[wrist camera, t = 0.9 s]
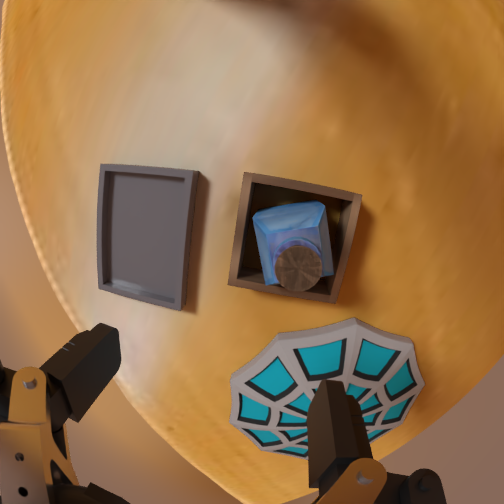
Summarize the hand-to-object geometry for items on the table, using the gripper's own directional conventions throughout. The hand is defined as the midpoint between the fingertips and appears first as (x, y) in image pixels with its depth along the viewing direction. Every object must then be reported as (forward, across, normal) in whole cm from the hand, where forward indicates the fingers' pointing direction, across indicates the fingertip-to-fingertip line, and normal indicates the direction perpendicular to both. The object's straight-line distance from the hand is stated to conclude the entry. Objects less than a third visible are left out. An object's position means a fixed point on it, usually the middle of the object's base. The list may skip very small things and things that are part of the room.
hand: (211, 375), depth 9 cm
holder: (+21, -3, -2) cm, 22 cm away
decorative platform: (+22, -15, +22) cm, 35 cm away
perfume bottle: (+22, -3, -2) cm, 22 cm away
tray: (+21, +14, +2) cm, 25 cm away
